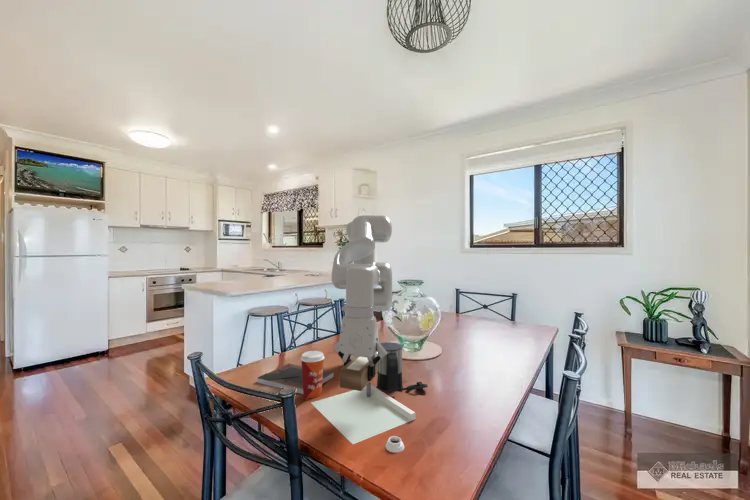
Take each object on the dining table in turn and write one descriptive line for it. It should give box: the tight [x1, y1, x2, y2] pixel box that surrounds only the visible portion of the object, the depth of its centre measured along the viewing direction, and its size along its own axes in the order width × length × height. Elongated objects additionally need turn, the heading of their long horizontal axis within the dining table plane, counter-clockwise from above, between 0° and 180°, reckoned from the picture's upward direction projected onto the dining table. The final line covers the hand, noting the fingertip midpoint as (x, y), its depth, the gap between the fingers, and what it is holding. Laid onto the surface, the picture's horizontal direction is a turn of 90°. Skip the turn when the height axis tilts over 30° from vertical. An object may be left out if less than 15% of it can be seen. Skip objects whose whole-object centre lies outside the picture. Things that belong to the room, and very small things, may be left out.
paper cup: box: [300, 350, 325, 401], centre depth 102 cm, size 8×8×14 cm
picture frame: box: [257, 363, 335, 395], centre depth 116 cm, size 16×2×22 cm
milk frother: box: [375, 341, 428, 393], centre depth 108 cm, size 14×16×15 cm
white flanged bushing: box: [384, 435, 405, 454], centre depth 75 cm, size 5×3×5 cm
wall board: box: [310, 382, 416, 445], centre depth 91 cm, size 20×25×5 cm
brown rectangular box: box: [339, 356, 377, 391], centre depth 86 cm, size 12×6×5 cm, turn 160°
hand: (359, 376), depth 86 cm, fingers closed on brown rectangular box, 6 cm apart
